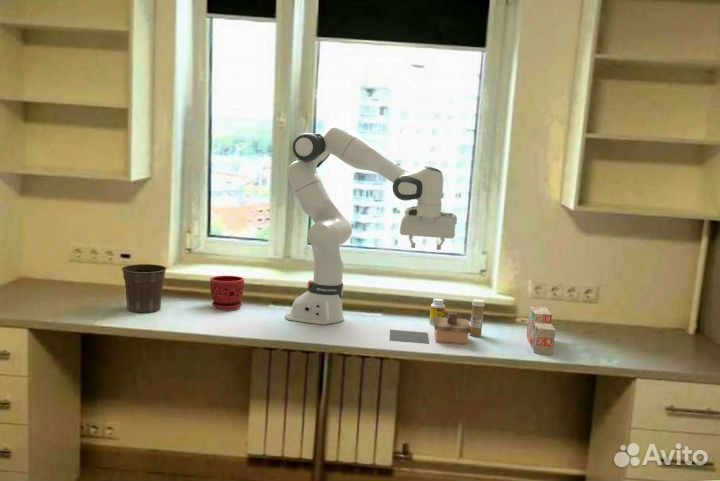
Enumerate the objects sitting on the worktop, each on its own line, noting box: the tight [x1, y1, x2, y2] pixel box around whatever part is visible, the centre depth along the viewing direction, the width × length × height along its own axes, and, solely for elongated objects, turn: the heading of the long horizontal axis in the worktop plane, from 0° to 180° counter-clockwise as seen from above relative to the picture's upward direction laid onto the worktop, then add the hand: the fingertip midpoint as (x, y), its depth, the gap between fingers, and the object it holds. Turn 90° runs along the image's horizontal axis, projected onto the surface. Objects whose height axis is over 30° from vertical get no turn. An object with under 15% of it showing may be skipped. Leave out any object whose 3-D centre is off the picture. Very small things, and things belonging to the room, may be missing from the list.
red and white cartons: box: [526, 305, 557, 356], centre depth 255 cm, size 21×6×12 cm, turn 175°
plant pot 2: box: [209, 275, 245, 311], centre depth 278 cm, size 13×13×12 cm
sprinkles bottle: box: [468, 298, 486, 338], centre depth 263 cm, size 5×5×14 cm
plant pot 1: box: [121, 263, 167, 314], centre depth 267 cm, size 16×16×16 cm
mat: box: [389, 329, 430, 345], centre depth 255 cm, size 14×14×1 cm
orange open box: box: [434, 329, 469, 346], centre depth 255 cm, size 11×11×5 cm
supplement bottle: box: [428, 298, 446, 327], centre depth 273 cm, size 6×6×10 cm
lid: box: [433, 311, 471, 334], centre depth 254 cm, size 12×12×5 cm
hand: (425, 248), depth 261 cm, fingers open, 8 cm apart
